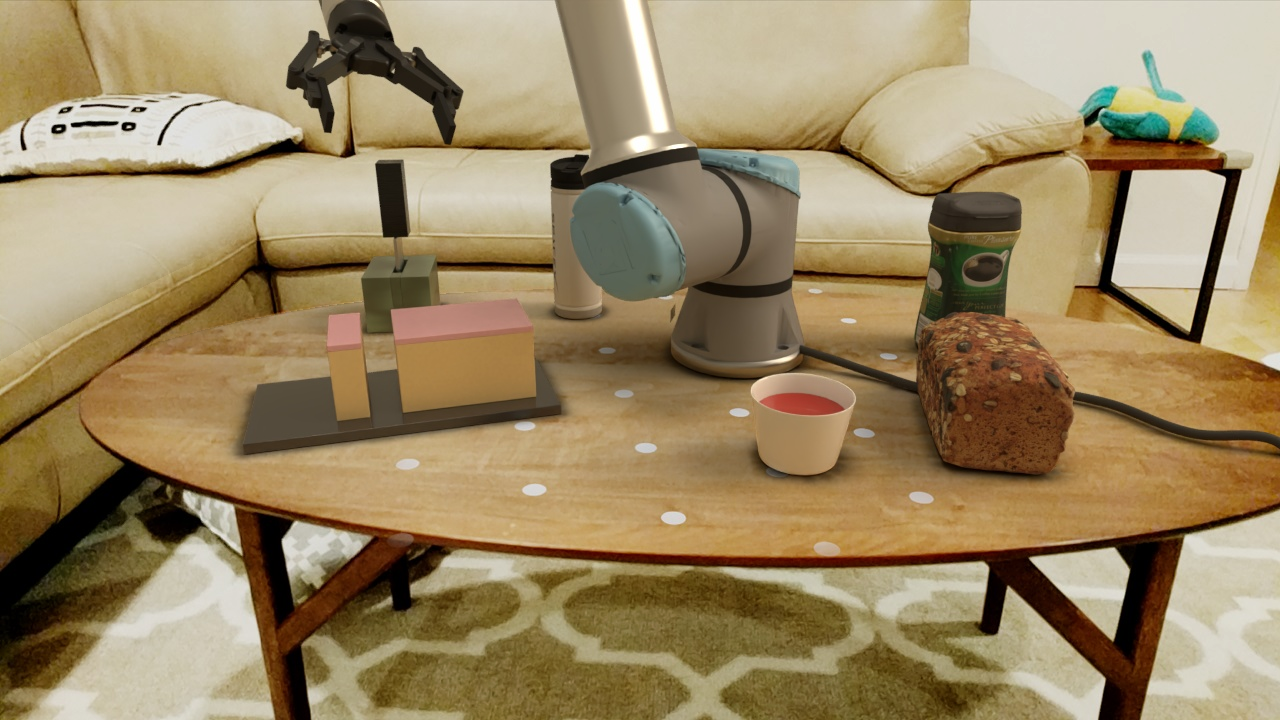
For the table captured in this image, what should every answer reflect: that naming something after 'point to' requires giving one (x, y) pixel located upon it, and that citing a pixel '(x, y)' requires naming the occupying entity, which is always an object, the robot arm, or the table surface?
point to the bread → (993, 394)
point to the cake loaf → (463, 354)
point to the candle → (800, 421)
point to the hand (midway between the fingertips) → (392, 129)
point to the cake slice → (348, 366)
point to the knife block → (398, 288)
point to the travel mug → (569, 244)
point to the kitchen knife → (393, 205)
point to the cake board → (311, 419)
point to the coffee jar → (969, 254)
